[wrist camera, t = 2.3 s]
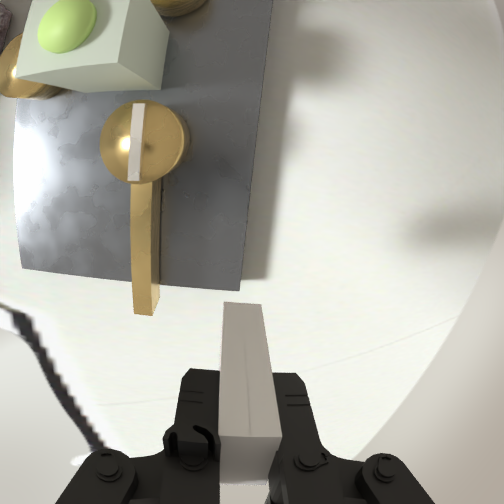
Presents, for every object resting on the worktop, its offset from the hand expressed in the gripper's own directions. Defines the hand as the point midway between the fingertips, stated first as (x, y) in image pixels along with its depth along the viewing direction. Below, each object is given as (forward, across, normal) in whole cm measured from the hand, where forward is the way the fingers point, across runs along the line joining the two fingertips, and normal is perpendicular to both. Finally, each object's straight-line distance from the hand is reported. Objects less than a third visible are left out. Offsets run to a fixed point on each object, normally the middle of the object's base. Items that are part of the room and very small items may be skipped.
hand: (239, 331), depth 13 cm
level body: (+11, -9, +13) cm, 20 cm away
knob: (+11, -6, +2) cm, 13 cm away
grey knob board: (+13, -10, +13) cm, 21 cm away
